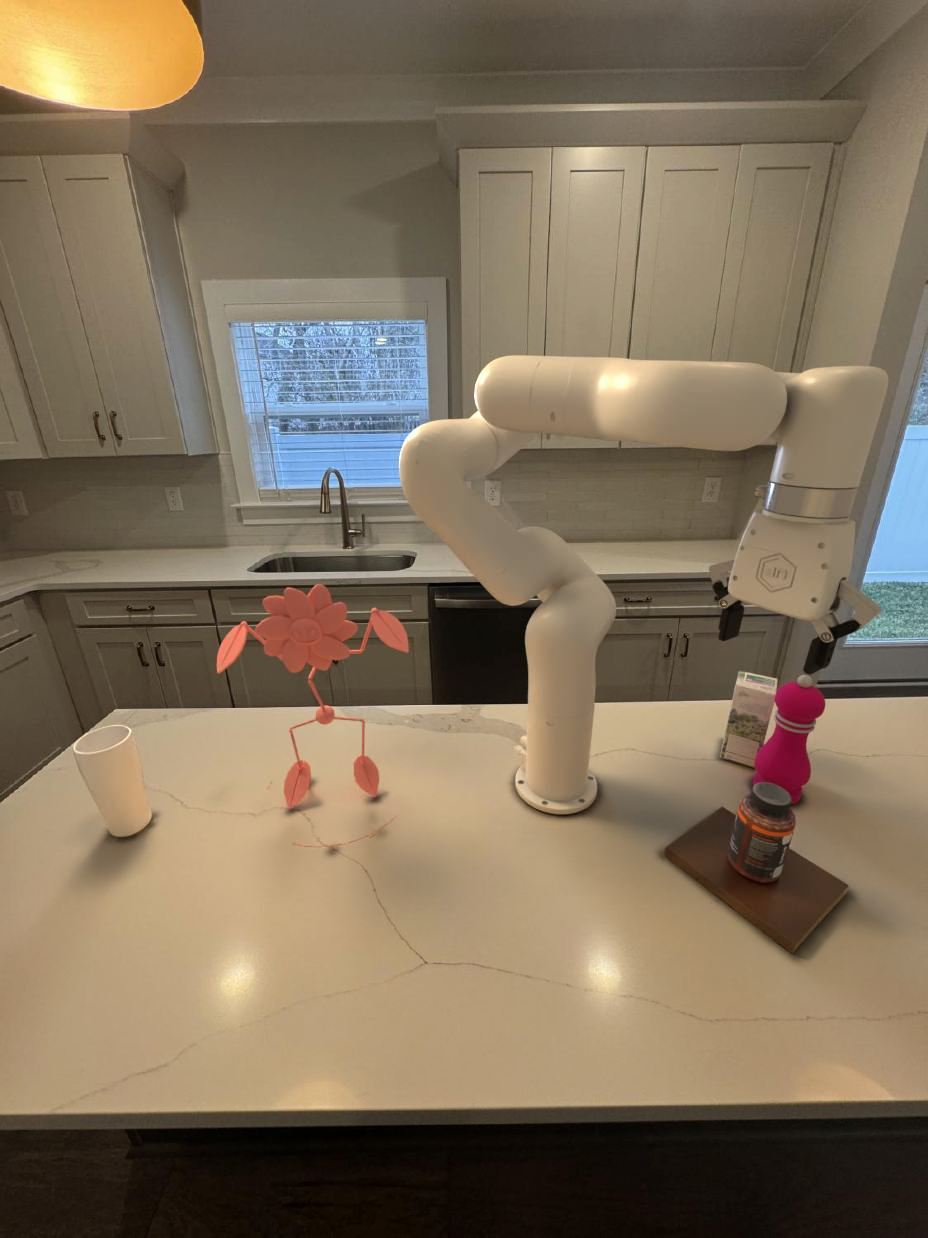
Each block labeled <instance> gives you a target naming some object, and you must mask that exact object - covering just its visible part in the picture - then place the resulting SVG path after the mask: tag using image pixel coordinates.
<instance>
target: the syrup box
mask: <svg viewBox="0 0 928 1238" xmlns="http://www.w3.org/2000/svg"><path fill="white" fill-rule="evenodd" d="M777 691H778V678H775V677H771V676H766V675H761V674H756V673H752V672H747V671H742V670H739V671H738V673H737V678H736V681H735V686H734V689H733V693H732V698H731V703H730V708H729V711H728V712H729V713H728V717H727V721H726V727H725V731H724V736H723V740H722V744H721V750H720V756H719V757H720V759H723V760H726V761H729V762H733V763H736V764H739V765H743V766H746V767H749V768H753V769H756V768H755V765H754V761H755V758H756V755H757V753H758V751H759V750H760V748H761V747H762V746H763V745H764V744H765V741H766V737H767V733H768V729H769V725H770V720H771V717H772V714H773V710H774V705H775V695H776V693H777Z"/></svg>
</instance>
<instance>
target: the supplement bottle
mask: <svg viewBox="0 0 928 1238" xmlns="http://www.w3.org/2000/svg"><path fill="white" fill-rule="evenodd" d="M791 806H792V804H791V796H790V794H789V793H788V792H787V791H786V790H785V789H783V788H781V787H780V786H778V785H775V784H772V783H766V782H761V783H757V784H755V785H754V786H753V785H752V789H751V792H750V793H749V794H746V795H745V796H743V797H742V798H741V799H740V801H739V803H738V807H737V812H736V814H735V815H736V820H735V824H734V828H733V833H732V837H731V841H730V846H729V851H728V857H729V861H730V863H731V864H732V866H733V867H734V868H735V869H736V870H737V871H738V872H739V873H741V874H742V875H743V876H745V877H747V878H749V879H751V880H754V881H757V882H762V883H769V882H773V881H775V880H777V879H778V878H779V877H780V875H781V872H782V870H783V867H784V863H785V859H786V856H787V852H788V849H789V848H790V846H791V841H792V838H793V835H794V831H795V828H796V823H797V819H796V815H795V813H794V811H793V810H792V809H791Z"/></svg>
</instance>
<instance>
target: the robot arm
mask: <svg viewBox="0 0 928 1238" xmlns="http://www.w3.org/2000/svg"><path fill="white" fill-rule="evenodd" d="M889 381H890V380H889V375H888V373H887V371H885V370H884V369H883V368H880V367H877V366H870V365H839V366H821V367H813V368H809V369H807V370H804V371H803V372H783V371H774V370H773V369H772V368H770V367H769V366H766V365H762V364H760V363H754V362H747V361H745V362H744V361H710V360H707V361H706V360H705V361H704V360H667V359H666V360H664V359H663V360H660V359H658V360H656V359H654V360H653V359H631V358H626V357H609V356H607V357H606V356H597V357H596V356H564V355H563V356H562V355H561V356H559V355H558V356H557V355H527V354H526V355H519V354H514V355H505V356H501V357H498V358H495V359H493V360H492V361H490V362H489V363H488V364H486V365H485V367H483V368H482V370H481V371H480V373H479V375H478V377H477V379H476V382H475V386H474V402H475V406H476V409H477V411H476V412H475V413H473V414H472V415H471V416H470V417H469V418H451V419H450V418H448V419H447V418H445V419H438V420H432V421H428V422H426V423H422V424H421V425H418V426H417V427H416V428H414V429H413V430H412V431H411V432H410V433H409V434H408V436H407V437H406V438H405V440H404V442H403V444H402V445H401V449H400V453H399V458H398V459H399V461H398V473H399V480H400V485H401V489H402V492H403V494H404V498H405V499H406V501H407V503H408V504H409V506H410V508H411V509H412V510H413V512H414V513H415V514H416V516H417V517H418V518H419V519H420V520H421V521H422V522H423V524H424V525H426V526H427V527H428V528H429V529H430V531H432V532H433V533H434V534H435V535H436V536H437V537H438V538H439V540H441V541H442V542H443V543H444V544H445V545H446V546H447V547H448V548H449V549H450V551H451V552H452V553H453V554H454V555H455V557H457V559H458V560H459V561H460V562H461V564H463V566H465V568H466V569H467V570H468V571H469V572H470V573H471V574H472V575H473V577H475V579H476V580H477V581H478V582H479V583H480V584H481V585H482V587H483V588H485V590H486V591H487V592H488V593H489V594H490V595H491V596H492V597H493V598H494V599H495V600H497V601H498V602H499V603H501V604H503V605H507V606H510V607H514V606H520V605H523V604H525V603H527V602H529V601H530V600H532V599H533V598H535V597H537V598H538V599H539V600H540V602H542V603H541V604H539V606H538V607H536V609H535V610H534V611H533V613H532V615H531V617H530V618H529V620H528V622H527V625H526V629H525V634H524V646H525V655H526V660H527V673H528V676H527V677H528V680H527V681H528V683H527V684H528V685H527V687H528V689H527V718H526V719H527V720H526V721H527V725H526V734H523V735H522V736H521V737H520V740H519V743H520V744H516V745H515V746H514V749H513V751H514V752H515V753H516V754H517V755H518V756H520V757H521V765H520V766H519V768H518V769H517V771H516V773H515V779H514V780H515V782H514V783H515V789H516V791H517V794H518V795H519V797H520V798H521V800H523V801H524V802H525V803H526V804H528V805H529V806H531V807H532V808H534V809H535V810H536V809H537V810H538V811H540V812H544V813H547V814H553V815H571V814H575V813H579V812H582V811H583V810H585V809H588V808H589V807H591V805H592V804H594V803H593V802H594V801H595V800H596V798H597V794H598V782H597V778H596V777H595V775H594V773H593V772H592V771H591V770H590V769H589V767H590V759H591V758H590V757H591V749H592V738H593V737H592V736H593V726H594V725H593V724H594V716H595V706H596V705H595V701H596V690H597V689H596V688H597V674H596V659H597V658H596V657H597V652H598V648H599V646H600V644H601V643H602V641H603V640H604V638H605V636H606V635H607V633H608V632H609V631H610V629H611V628H612V625H613V624H614V622H615V619H616V615H617V604H616V603H617V602H616V600H615V597H614V595H613V593H612V591H611V590H610V588H609V587H608V586H607V584H606V583H605V582H604V580H602V579H601V578H600V576H598V574H597V573H596V572H595V571H594V570H593V569H592V568H591V567H590V566H589V564H587V562H585V561H584V560H583V558H581V557H580V555H579V554H578V553H577V552H576V551H575V550H574V549H573V548H572V547H571V546H570V544H568V543H567V542H566V541H565V539H563V538H562V537H561V536H560V535H558V534H557V533H555V532H554V531H552V530H550V529H548V528H546V527H544V526H543V527H541V526H538V525H537V526H535V525H534V526H526V527H523V528H520V529H516V528H515V527H514V526H513V525H512V524H511V523H510V522H509V521H508V520H507V519H505V518H504V516H502V515H501V513H500V512H499V511H498V510H497V508H496V507H495V506H494V505H492V503H490V501H488V500H487V499H485V497H482V495H480V494H478V493H476V492H475V491H474V490H472V489H471V488H470V487H469V486H468V485H467V484H466V483H465V482H469V481H473V480H478V479H481V478H484V477H486V476H488V475H490V474H492V473H493V472H495V471H496V470H497V469H499V468H500V467H502V466H503V465H504V464H505V463H506V462H508V461H509V460H510V459H511V458H512V457H513V456H514V455H515V454H517V453H518V452H519V451H520V450H522V449H523V448H524V447H525V446H526V445H528V444H529V443H530V442H531V441H532V440H533V439H535V437H537V436H538V435H539V434H542V435H543V434H545V435H555V436H564V437H565V436H566V437H573V438H583V439H591V440H599V441H600V440H601V441H606V442H633V443H640V444H647V445H657V446H666V447H667V446H668V447H675V448H676V447H677V448H688V449H697V450H698V449H699V450H709V451H719V452H738V451H739V452H740V451H744V450H748V449H750V448H753V447H755V446H757V445H758V444H769V443H770V444H771V443H777V446H776V452H775V455H774V460H773V464H772V467H771V468H772V469H771V473H770V477H769V480H768V481H767V483H766V484H758V485H757V486H756V487H755V490H754V497H756V498H760V499H761V500H762V503H761V504H762V505H761V506H762V507H763V508H762V509H756V510H754V511H753V512H752V515H751V517H750V518H749V521H748V523H747V525H746V527H745V530H744V532H743V534H742V537H741V539H740V542H739V546H738V548H737V551H736V553H735V557H734V559H731V560H728V561H724V562H719V563H716V564H712V565H710V566H709V567H708V571H709V576H710V579H711V582H712V586H711V587H712V590H713V592H714V594H715V595H716V597H717V598H718V606H719V607H720V608H721V614H720V619H719V623H718V631H719V634H718V637H717V638H718V640H719V641H721V642H726V641H729V640H731V639H734V638H737V637H738V636H739V634H740V631H741V625H742V621H743V618H744V614H745V605H742V603H746V604H749V605H752V606H755V607H758V608H761V609H764V610H767V611H770V612H775V613H778V614H781V615H784V616H787V617H790V618H794V619H797V620H800V621H809V622H811V625H812V626H813V628H814V630H815V632H816V633H817V637H815V638H813V639H812V640H811V641H810V645H809V648H808V652H807V655H806V658H805V662H804V665H803V668H802V671H803V673H804V674H805V675H808V676H811V675H813V674H815V673H818V672H819V671H821V670H823V669H826V668H828V667H829V665H830V664H831V662H832V659H833V655H834V652H835V649H836V646H837V642H838V639H841V638H843V637H847V636H848V635H851V634H853V633H856V632H858V631H860V630H861V629H864V627H865V626H867V625H868V624H869V623H870V622H872V620H874V619H876V618H877V617H878V616H879V615H880V614H881V613H882V612H883V611H882V610H883V609H882V607H881V606H880V605H879V604H877V603H876V602H875V601H874V600H872V598H870V597H868V596H867V595H866V594H864V593H863V592H862V591H861V590H860V589H858V587H856V586H854V585H853V584H852V583H850V582H849V578H850V575H851V574H850V573H851V569H852V564H853V559H854V551H855V550H854V549H855V539H856V521H855V520H853V519H850V517H851V513H852V510H853V506H854V503H855V500H856V496H857V493H858V490H859V486H860V484H861V478H862V476H863V472H864V470H865V466H866V463H867V459H868V456H869V453H870V451H871V450H870V449H871V446H872V443H873V439H874V435H875V432H876V429H877V426H878V423H879V420H880V416H881V414H882V413H881V412H882V409H883V405H884V402H885V399H886V394H887V392H888V387H889ZM728 573H730V575H729V578H728V577H727V575H728ZM843 602H844V603H846V604H847V605H848V606H850V607H851V608H852V610H853V611H854V614H853V615H852V616H851V617H850V618H849V619H848V620H847V621H844V622H842V621H841V619H840V617H839V616H838V614H837V611H838V610H839V609H840V608H841V605H842V603H843Z"/></svg>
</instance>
